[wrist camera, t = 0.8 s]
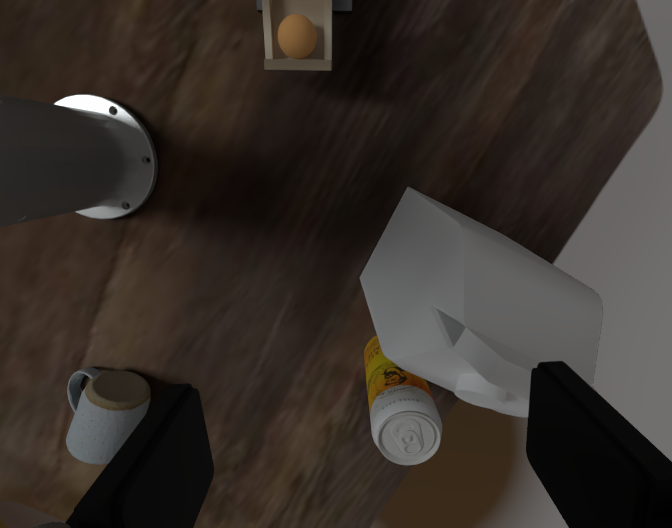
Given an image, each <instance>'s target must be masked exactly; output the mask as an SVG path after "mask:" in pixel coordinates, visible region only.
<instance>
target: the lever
mask: <svg viewBox="0 0 672 528" xmlns="http://www.w3.org/2000/svg"><path fill="white" fill-rule="evenodd" d="M262 9H263V25H264V40H265V56H266V59H264V67H265V70H330V71H331V70H332V0H262ZM293 14H300V15H303V16H305V17H307V18H308V19H309V20H310V21H311V22H312V24H313V25H314V27H315V30H316V34H317V41H316V46H315V48H314V50H313V52H312V53H311V54H310V55H309V56H307V57H306V58H303V59H293V58H291V57H289V56H287V55H286V54H285V53H284V52H283V51H282V49H281V47H280V45H279V42H278V29H279V26H280V24H281V22H282V21H283V20H284V19H285V18H286V17H287V16H289V15H293Z"/></svg>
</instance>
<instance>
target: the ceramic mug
mask: <svg viewBox="0 0 672 528" xmlns="http://www.w3.org/2000/svg"><path fill="white" fill-rule="evenodd" d="M85 375H87V376H89V378H91V380H90V381H89V382H88V384H87V385H86V387H85V389H84V390H83V392H82V394H81V391H80V385H81V382H82V380H83V377H84V376H85ZM67 391H68V399H69V402H70V405H71V407H72V408H73V411H74V412H75V415H74V418H73V420H72V423H71V426H70V429H69V431H68V435H67V440H66V444H67V447H68V450H69V451H70V453H71V454H72V455H73V456H74V457H75V458H77V459H78V460H81V461H83V462H85V463H90V464H108V463H109V462H110V461H111V460H112V458H113V457H114V456H115V454H116V453H117V452H118V450H119V449H120V448H121V446H122V445H123V444H124V442H125V441H126V440H127V438H128V437H129V436H130V435H131V433H132V432H133V431H134V429H135V428H136V427H137V425H138V424H139V423H140V421H141V420H142V419H143V417H144V416H145V415H146V413H147V410H148V407H149V404H150V396H151V389H150V386H149V384H148V382H147V381H146V380H145V379H144V378H143V377H141V376H139V375H137V374H135V373H132V372H128V371H122V370H115V371H108V372H105V373H102V372H101V371H99V370H97V369H95V368H92V367H89V368H85V369H82V370H79V371H77V372H75V373H74V374H73V375H72V376H71V378H70V380H69V383H68V390H67Z"/></svg>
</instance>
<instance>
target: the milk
mask: <svg viewBox="0 0 672 528" xmlns="http://www.w3.org/2000/svg"><path fill="white" fill-rule="evenodd" d="M360 281H361V284H362V288H363V291H364V294H365V297H366V301H367V304H368V307H369V310H370V314H371V317H372V320H373V323H374V327H375V330H376V333H377V336H378V340H379V343H380V346H381V349H382V352H383V354H384V356H385V357H387V358H388V359H389V360H391V361H392V362H393V363H395V364H396V365H398V366H399V367H400V368H402V369H403V370H406V371H408V372H410V373H412V374H414V375H417V376H419V377H421V378H423V379H426V380H428V381H430V382H432V383H435V384H437V385H439V386H441V387H443V388H446V389H448V390H450V391H452V392H454V394H455V395H456V396H457V397H458V398H460V399H462V400H464V401H466V402H468V403H471V404H473V405H477V406H480V407H484V408H490V409H493V410H495V411H497V412H499V413H504V414H509V415H513V416H518V417H528V412H529V397H530V382H531V371H532V369H533V368H537V365H538V363H540V362H549V361H563V362H565V363H566V364H567V365H568V366H569V367H570V368H571V369H572V370H573V371H575V372H576V373H577V374H578V375H579V376H580V377H581V378H582V379H583V380H584V381H585V382H586V383H587V384H589V385H590V386H591V384H592V383H593V381H594V373H595V367H596V359H597V352H598V346H599V339H600V332H601V324H602V315H603V307H602V301H601V299H600V296H599V295H598V294H597V293H596V292H595V291H594V290H593V289H591V288H589V287H588V286H586V285H584V284H583V283H581V282H580V281H578V280H576V279H575V278H573V277H572V276H570V275H568V274H567V273H565V272H563V271H562V270H560V269H559V268H557V267H555V266H554V265H552V264H550V263H549V262H547V261H546V260H544V259H542V258H541V257H539V256H537V255H536V254H534V253H533V252H531V251H529V250H528V249H526V248H524V247H523V246H521V245H520V244H518V243H516V242H515V241H513V240H511V239H510V238H508V237H506V236H505V235H503V234H501V233H499V232H497V231H495V230H493V229H491V228H489V227H487V226H485V225H483V224H481V223H479V222H477V221H475V220H473V219H471V218H469V217H468V216H466V215H464V214H462V213H460V212H458V211H456V210H454V209H452V208H450V207H448V206H446V205H444V204H442V203H440V202H438V201H436V200H434V199H432V198H430V197H428V196H426V195H424V194H422V193H420V192H418V191H416V190H414V189H412V188H410V187H407V189H406V191H405V192H404V194H403V196H402V198H401V200H400V202H399V204H398V206H397V208H396V210H395V211H394V213H393V215H392V217H391V219H390V221H389V223H388V225H387V227H386V228H385V230H384V232H383V234H382V236H381V238H380V240H379V242H378V244H377V246H376V247H375V249H374V251H373V253H372V255H371V257H370V259H369V261H368V263H367V265H366V266H365V268H364V270H363V272H362V274H361V276H360ZM591 387H592V388H593V389H594V387H593V386H591ZM594 390H595V389H594ZM595 391H596V390H595Z"/></svg>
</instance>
